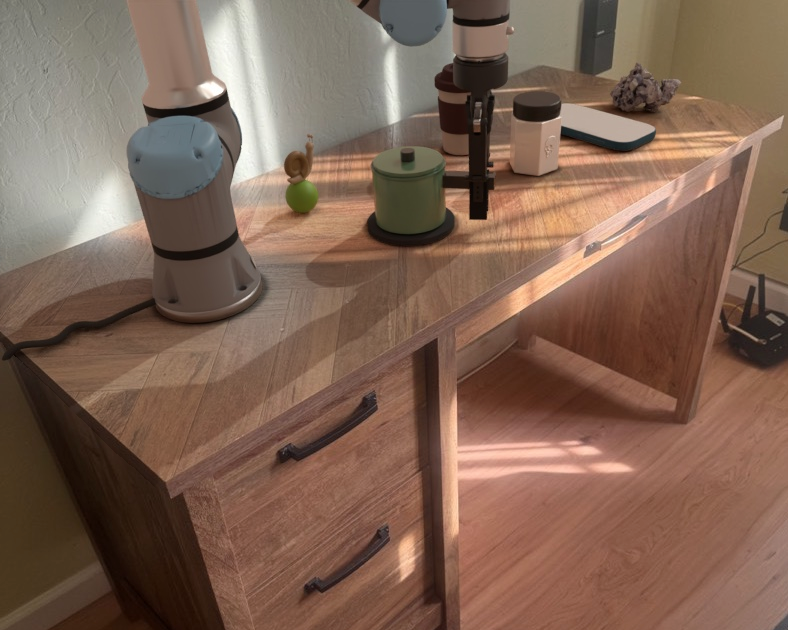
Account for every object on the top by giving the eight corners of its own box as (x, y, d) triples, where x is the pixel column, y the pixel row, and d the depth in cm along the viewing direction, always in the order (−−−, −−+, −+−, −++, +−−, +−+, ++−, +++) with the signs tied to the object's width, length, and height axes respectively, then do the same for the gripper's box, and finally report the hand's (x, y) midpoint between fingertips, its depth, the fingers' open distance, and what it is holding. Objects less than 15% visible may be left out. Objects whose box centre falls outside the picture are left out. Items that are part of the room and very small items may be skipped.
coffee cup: (497, 143, 147) (499, 61, 137) (473, 162, 140) (473, 77, 131) (451, 136, 151) (451, 56, 142) (426, 154, 145) (423, 71, 135)
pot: (488, 239, 114) (490, 169, 107) (366, 232, 118) (360, 164, 112) (498, 206, 123) (500, 138, 116) (384, 200, 127) (379, 135, 120)
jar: (529, 180, 133) (533, 110, 125) (499, 166, 138) (501, 98, 131) (567, 166, 136) (573, 98, 129) (536, 153, 142) (540, 87, 134)
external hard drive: (661, 138, 144) (663, 127, 143) (624, 156, 139) (625, 145, 137) (563, 110, 159) (564, 100, 157) (526, 125, 153) (526, 115, 152)
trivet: (379, 252, 116) (379, 247, 115) (358, 214, 126) (358, 208, 126) (466, 236, 118) (466, 231, 118) (439, 200, 129) (439, 195, 128)
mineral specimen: (687, 92, 152) (664, 47, 148) (655, 119, 150) (631, 74, 147) (647, 106, 163) (625, 64, 160) (617, 131, 161) (594, 90, 158)
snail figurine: (331, 207, 129) (322, 137, 122) (302, 221, 126) (292, 150, 118) (309, 199, 132) (300, 130, 125) (281, 212, 129) (269, 142, 121)
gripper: (506, 70, 97) (500, 238, 112) (510, 38, 109) (505, 193, 124) (447, 71, 98) (449, 237, 113) (458, 39, 110) (459, 193, 125)
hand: (478, 214), depth 118 cm, fingers closed on pot, 2 cm apart
